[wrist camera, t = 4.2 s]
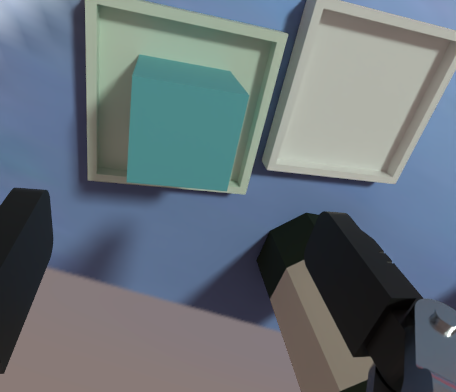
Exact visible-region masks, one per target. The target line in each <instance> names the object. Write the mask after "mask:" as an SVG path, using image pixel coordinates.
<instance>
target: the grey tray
mask: <svg viewBox="0 0 456 392" xmlns="http://www.w3.org/2000/svg"><path fill="white" fill-rule="evenodd" d="M455 70H456V31H455V30H452V29H448V28H444V27H440V26H436V25H432V24H428V23H425V22H421V21H417V20H413V19H409V18H405V17H402V16H398V15H394V14H390V13H386V12H382V11H378V10H375V9H371V8H367V7H363V6H359V5H355V4H352V3H348V2H344V1H340V0H306V4H305V7H304V11H303V15H302V18H301V22H300V25H299V29H298V32H297V36H296V40H295V43H294V47H293V50H292V54H291V57H290V61H289V65H288V68H287V72H286V75H285V79H284V82H283V86H282V90H281V93H280V97H279V100H278V104H277V107H276V111H275V115H274V118H273V122H272V125H271V129H270V132H269V136H268V140H267V143H266V147H265V150H264V154H263V157H262V162H263V164H264V166H265V168H266V169H267V170H271V171H280V172H289V173H298V174H308V175H317V176H326V177H335V178H344V179H353V180H362V181H371V182H380V183H389V184H396V182H397V180H398V178H399V176H400V174H401V172H402V170H403V168H404V167H405V165H406V163H407V161H408V159H409V157H410V155H411V153H412V151H413V150H414V148H415V146H416V144H417V142H418V140H419V138H420V136H421V134H422V132H423V131H424V129H425V127H426V125H427V123H428V121H429V119H430V117H431V115H432V114H433V112H434V110H435V108H436V106H437V104H438V102H439V100H440V98H441V96H442V95H443V93H444V91H445V89H446V87H447V85H448V83H449V81H450V79H451V78H452V76H453V74H454V72H455Z"/></svg>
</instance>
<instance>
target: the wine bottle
mask: <svg viewBox="0 0 456 392" xmlns="http://www.w3.org/2000/svg"><path fill="white" fill-rule="evenodd" d="M318 216H319V215H316V214H310V213H305V214H303V215H301V216H299V217H297V218H295V219H293V220H291V221H289V222H287V223H285V224H283V225H281V226H279V227H277V228H275V229H273V230H271V231H270V233H269V235H268V237H267V239H266V241H265V243H264V245H263V248H262V250H261V252H260V254H259V256H258V258H257V263H258V266H259V269H260V272H261V275H262V278H263V281H264V284H265V287H266V289H267V292H268V295H269V298H270V301H271V304H272V307H273V310H274V313H275V316H276V319H277V322H278V325H279V328H280V331H281V334H282V337H283V339H284V342H285V345H286V348H287V351H288V354H289V357H290V360H291V363H292V366H293V369H294V372H295V375H296V378H297V381H298V383H299V386H300V389H301V392H366V388H367V380H368V372H369V369H370V367H371V365H372V364H373V360H372V358H371V357H353V356H352V355H351V353H350V351H349V349H348V347H347V345H346V343H345V341H344V339H343V337H342V335H341V333H340V331H339V329H338V327H337V326H336V324H335V322H334V320H333V318H332V316H331V314H330V312H329V310H328V308H327V306H326V304H325V302H324V300H323V299H322V297H321V295H320V293H319V291H318V289H317V287H316V285H315V283H314V281H313V279H312V277H311V275H310V273H309V272H308V270H307V268H306V265H305V261H304V252H305V248H306V245H307V243H308V240H309V238H310V235H311V233H312V230H313V228H314V226H315V223H316V221H317V218H318Z"/></svg>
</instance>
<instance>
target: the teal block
mask: <svg viewBox="0 0 456 392" xmlns="http://www.w3.org/2000/svg"><path fill="white" fill-rule="evenodd" d="M248 99H249V94H248V93H247V92H246V90H245V89H244V88H243V87H242V85H241V84H240V83H239V82H238V80H237V79H236V78H235V76H234V75H233V74H232V73H231V71H227V70H222V69H217V68H211V67H206V66H200V65H195V64H189V63H184V62H178V61H173V60H168V59H162V58H157V57H151V56H146V55H140V54H139V57H138V60H137V63H136V66H135V69H134V72H133V75H132V88H131V107H130V126H129V145H128V164H127V182H128V183H139V184H150V185H161V186H172V187H183V188H194V189H205V190H216V191H227V189H228V185H229V181H230V176H231V172H232V168H233V164H234V159H235V155H236V151H237V146H238V142H239V138H240V134H241V129H242V125H243V121H244V116H245V112H246V108H247V104H248Z"/></svg>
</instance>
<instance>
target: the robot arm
mask: <svg viewBox="0 0 456 392" xmlns="http://www.w3.org/2000/svg"><path fill="white" fill-rule="evenodd" d="M52 248H53V228H52V217H51V205H50V196H49V192H48V191H47V190H40V189H26V188H13V189H12V190H11V192H10V193H9V194H8V196H7V197H6V198H5V200H4V201H3V203H2V204H1V205H0V374H3V373H4V372H5V370H6V367H7V365H8V362H9V360H10V357H11V355H12V352H13V350H14V347H15V345H16V342H17V340H18V337H19V335H20V332H21V330H22V327H23V325H24V322H25V320H26V317H27V315H28V312H29V310H30V307H31V305H32V302H33V300H34V297H35V295H36V292H37V290H38V287H39V285H40V283H41V280H42V277H43V275H44V272H45V270H46V268H47V265H48V263H49V260H50V257H51V253H52ZM304 261H305V265H306V268H307V270H308V272H309V273H310V275H311V277H312V279H313V281H314V283H315V285H316V287H317V289H318V291H319V293H320V295H321V297H322V299H323V300H324V302H325V304H326V306H327V308H328V310H329V312H330V314H331V316H332V318H333V320H334V322H335V324H336V326H337V327H338V329H339V331H340V333H341V335H342V337H343V339H344V341H345V343H346V345H347V347H348V349H349V351H350V353H351V355H352V356H353V357H371V358H372V360H373V364H372V365H371V367H370V369H369V372H368V380H367V388H366V392H456V310H454V309H453V308H451V307H449V306H448V305H446V304H444V303H441V302H439V301H436V300H433V299H423V297H422V296H421V295H420V294H419V293H418V291H417V290H416V289H415V288H414V287H413V285H412V284H411V283H410V282H409V281H408V280H407V278H406V277H405V276H404V275H403V274H402V272H401V271H400V270H399V269H398V268H397V266H396V265H395V264H392V260H391V259H390V258H389V257H388V256H387V255H386V254H384V251H383V250H382V249H381V247H380V246H379V245H378V244H377V243H376V241H375V240H374V239H372V238H371V237H370V236H368V235H367V234H366V233H364V232H363V231H362V230H361V229H360V228H359V227H358V226H357V225H356V223H355V222H354V221H353V220H352V218H351V217H350V216H349V215H348V214H346V213H338V212H322V213H321V214H320V215H319V216H318V218H317V221H316V223H315V226H314V228H313V230H312V233H311V235H310V238H309V240H308V243H307V245H306V248H305V252H304Z"/></svg>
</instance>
